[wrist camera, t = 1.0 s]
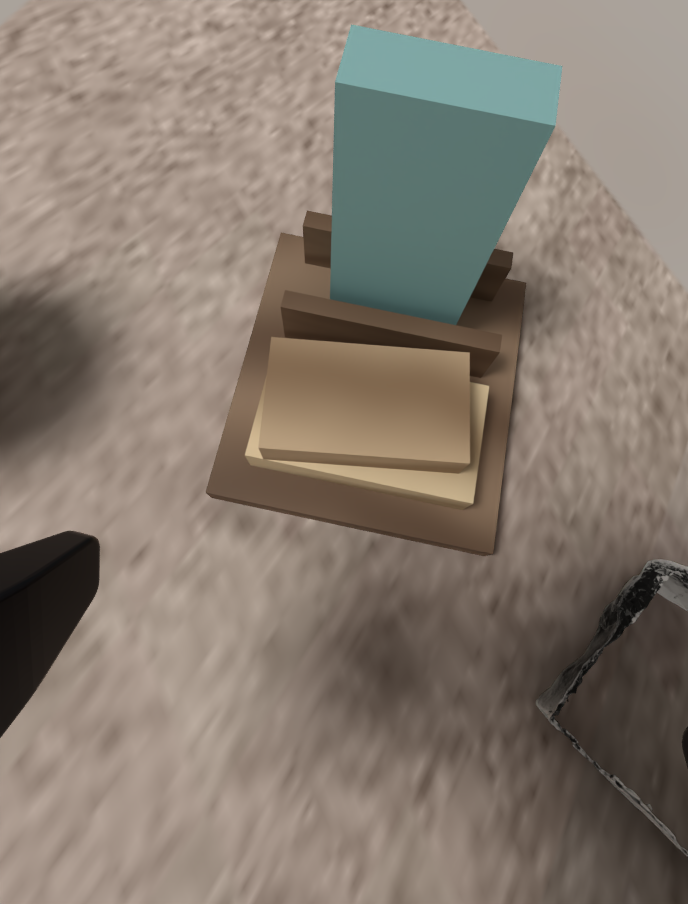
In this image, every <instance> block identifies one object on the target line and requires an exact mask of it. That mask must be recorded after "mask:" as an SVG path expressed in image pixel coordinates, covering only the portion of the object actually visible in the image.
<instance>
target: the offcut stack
mask: <svg viewBox="0 0 688 904" xmlns="http://www.w3.org/2000/svg"><path fill="white" fill-rule="evenodd" d="M488 392H489V386H487V385H482V384H477V383H472V382H470V353H468V352H455V351H443V350H430V349H417V348H405V347H392V346H380V345H367V344H354V343H342V342H329V341H316V340H304V339H291V338H278V337H271V344H270V352H269V361H268V369H267V376H266V379H265V383H264V387H263V390H262V394H261V398H260V401H259V405H258V409H257V412H256V416H255V420H254V423H253V427H252V431H251V434H250V438H249V442H248V445H247V449H246V452H245V456H246V458H247V460H248V462H249V464H250V465H251V466H256V467H261V468H266V469H270V470H275V471H280V472H284V473H289V474H294V475H298V476H303V477H308V478H313V479H317V480H322V481H327V482H331V483H336V484H341V485H345V486H350V487H355V488H360V489H364V490H369V491H374V492H378V493H383V494H388V495H393V496H397V497H402V498H407V499H411V500H416V501H421V502H425V503H430V504H435V505H440V506H444V507H449V508H454V509H458V510H463V509H465V508H467V507H468V506H470V505H472V504H473V501H474V494H475V487H476V480H477V472H478V465H479V458H480V450H481V443H482V436H483V428H484V421H485V414H486V407H487V399H488Z"/></svg>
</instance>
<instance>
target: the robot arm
mask: <svg viewBox="0 0 688 904" xmlns="http://www.w3.org/2000/svg"><path fill="white" fill-rule="evenodd" d="M99 570H100V545H99V541H98V539H97V538H96V537H94V536H91V535H88V534H84V533H80V532H76V531H66V532H62V533H59V534H56V535H53V536H50V537H47V538H44V539H41V540H38V541H35V542H32V543H29V544H26V545H23V546H21V547H18V548H15V549H12V550H9V551H6V552H3V553H0V738H1V737H2V735H3V734H4V733H5V731H6V730H7V729H8V727H9V726H10V725H11V723H12V722H13V721H14V720H15V718H16V717H17V716H18V714H19V713H20V712H21V710H22V709H23V708H24V706H25V705H26V704H27V702H28V701H29V700H30V698H31V697H32V695H33V694H34V693H35V691H36V690H37V688H38V687H39V685H40V683H41V682H42V680H43V679H44V677H45V676H46V674H47V673H48V671H49V669H50V668H51V666H52V665H53V663H54V661H55V660H56V658H57V657H58V655H59V653H60V652H61V650H62V648H63V647H64V645H65V644H66V642H67V640H68V639H69V637H70V636H71V634H72V632H73V631H74V629H75V628H76V626H77V624H78V623H79V621H80V620H81V618H82V616H83V615H84V613H85V611H86V610H87V608H88V607H89V605H90V603H91V602H92V600H93V598H94V597H95V595H96V592H97V589H98V586H99ZM682 748H683V753H684V756H685V760H686V763H687V767H688V727H687V728H686V730H685V731H684V734H683V739H682Z"/></svg>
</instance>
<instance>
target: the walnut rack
mask: <svg viewBox="0 0 688 904" xmlns="http://www.w3.org/2000/svg"><path fill="white" fill-rule="evenodd" d="M331 233H332V216H331V215H326V214H321V213H316V212H311V211H307V213H306V216H305V220H304V224H303V237H300V236H295V235H290V234H285V233H281V234H280V238H279V241H278V245H277V248H276V252H275V255H274V258H273V262H272V265H271V269H270V272H269V276H268V279H267V283H266V286H265V289H264V293H263V296H262V300H261V303H260V307H259V310H258V314H257V317H256V320H255V324H254V327H253V331H252V334H251V338H250V341H249V345H248V348H247V351H246V355H245V358H244V362H243V365H242V369H241V372H240V376H239V379H238V382H237V386H236V389H235V393H234V396H233V400H232V403H231V407H230V410H229V413H228V417H227V420H226V424H225V427H224V431H223V434H222V438H221V441H220V444H219V448H218V451H217V455H216V458H215V462H214V465H213V469H212V472H211V475H210V479H209V482H208V486H207V489H206V493H207V494H208V495H209V496H210V497H211V498H215V499H220V500H224V501H229V502H234V503H238V504H243V505H248V506H252V507H257V508H262V509H266V510H271V511H276V512H280V513H285V514H290V515H294V516H299V517H304V518H308V519H313V520H318V521H322V522H327V523H332V524H337V525H341V526H346V527H351V528H355V529H360V530H365V531H369V532H374V533H379V534H383V535H388V536H393V537H397V538H402V539H407V540H411V541H416V542H421V543H425V544H430V545H435V546H439V547H444V548H449V549H453V550H458V551H463V552H467V553H472V554H477V555H481V556H486V555H491V554H493V551H494V543H495V535H496V527H497V518H498V510H499V502H500V494H501V486H502V478H503V469H504V461H505V453H506V445H507V437H508V428H509V420H510V412H511V404H512V396H513V387H514V379H515V371H516V363H517V355H518V346H519V338H520V330H521V322H522V314H523V306H524V297H525V289H526V283H525V282H520V281H515V280H510V279H505V278H506V276H507V275H508V273H509V271H510V270H511V266H512V258H513V253H512V252H508V251H503V250H498V249H494V250H493V252H492V254H491V256H490V258H489V260H488V262H487V264H486V266H485V268H484V270H483V272H482V274H481V276H480V278H479V280H478V282H477V284H476V286H475V288H474V290H473V292H472V294H471V296H470V298H469V300H468V302H467V304H466V306H465V308H464V310H463V312H462V314H461V316H460V318H459V320H458V322H457V324H456V325H452V324H447V323H443V322H438V321H433V320H428V319H423V318H418V317H414V316H409V315H404V314H399V313H394V312H389V311H385V310H380V309H375V308H370V307H365V306H360V305H355V304H351V303H346V302H341V301H336V300H331V299H330V274H331ZM271 337H278V338H291V339H304V340H316V341H329V342H342V343H354V344H367V345H380V346H392V347H405V348H417V349H430V350H443V351H455V352H468V353H470V382H472V383H477V384H482V385H487V386H489V392H488V399H487V407H486V414H485V421H484V428H483V436H482V443H481V450H480V458H479V465H478V472H477V480H476V487H475V494H474V501H473V504H472V505H470V506H468V507H467V508H465V509H463V510H458V509H454V508H449V507H444V506H440V505H435V504H430V503H425V502H421V501H416V500H411V499H407V498H402V497H397V496H393V495H388V494H383V493H378V492H374V491H369V490H364V489H360V488H355V487H350V486H345V485H341V484H336V483H331V482H327V481H322V480H317V479H313V478H308V477H303V476H298V475H294V474H289V473H284V472H280V471H275V470H270V469H266V468H261V467H256V466H251V465H250V464H249V462H248V460H247V458H246V456H245V452H246V449H247V445H248V442H249V438H250V434H251V431H252V427H253V423H254V420H255V416H256V412H257V409H258V405H259V401H260V398H261V394H262V390H263V387H264V383H265V379H266V376H267V369H268V361H269V352H270V344H271Z"/></svg>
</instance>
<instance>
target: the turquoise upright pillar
mask: <svg viewBox="0 0 688 904" xmlns="http://www.w3.org/2000/svg"><path fill="white" fill-rule="evenodd" d="M561 73H562V66H559V65H554V64H549V63H543V62H538V61H533V60H528V59H523V58H518V57H513V56H508V55H503V54H498V53H493V52H488V51H483V50H478V49H473V48H468V47H463V46H457V45H452V44H447V43H442V42H437V41H432V40H427V39H422V38H417V37H412V36H407V35H402V34H397V33H391V32H386V31H381V30H376V29H371V28H366V27H361V26H356V25H351V28H350V31H349V35H348V38H347V42H346V45H345V49H344V52H343V56H342V60H341V63H340V67H339V70H338V74H337V77H336V81H335V109H334V150H333V191H332V233H331V274H330V299H331V300H336V301H341V302H346V303H351V304H355V305H360V306H365V307H370V308H375V309H380V310H385V311H389V312H394V313H399V314H404V315H409V316H414V317H418V318H423V319H428V320H433V321H438V322H443V323H447V324H452V325H456V324H457V322H458V320H459V318H460V316H461V314H462V312H463V310H464V308H465V306H466V304H467V302H468V300H469V298H470V296H471V294H472V292H473V290H474V288H475V286H476V284H477V282H478V280H479V278H480V276H481V274H482V272H483V270H484V268H485V266H486V264H487V262H488V260H489V258H490V256H491V254H492V252H493V250H494V248H495V246H496V244H497V242H498V240H499V238H500V236H501V234H502V232H503V230H504V228H505V226H506V224H507V222H508V220H509V218H510V216H511V214H512V212H513V210H514V208H515V206H516V204H517V202H518V200H519V198H520V196H521V194H522V192H523V190H524V188H525V186H526V184H527V182H528V180H529V178H530V176H531V174H532V172H533V170H534V168H535V166H536V164H537V162H538V160H539V158H540V156H541V154H542V152H543V150H544V148H545V146H546V144H547V142H548V140H549V138H550V136H551V134H552V132H553V130H554V128H555V125H556V116H557V107H558V99H559V90H560V81H561Z"/></svg>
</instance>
